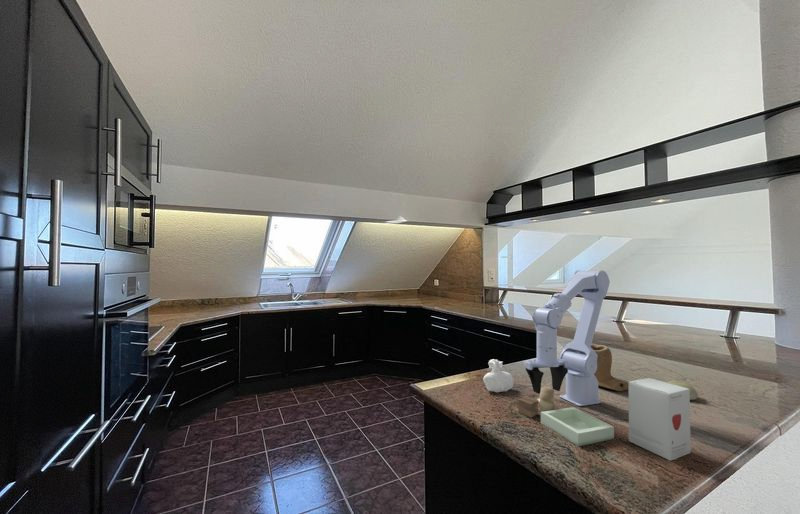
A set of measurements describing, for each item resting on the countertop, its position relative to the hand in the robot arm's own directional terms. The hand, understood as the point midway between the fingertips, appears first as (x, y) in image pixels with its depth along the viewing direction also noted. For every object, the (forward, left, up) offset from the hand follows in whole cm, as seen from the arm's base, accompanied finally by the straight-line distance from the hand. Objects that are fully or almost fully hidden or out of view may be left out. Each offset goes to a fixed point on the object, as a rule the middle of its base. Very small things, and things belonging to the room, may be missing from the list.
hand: (546, 391), depth 95 cm
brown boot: (-36, -10, -6) cm, 38 cm away
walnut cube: (+8, +1, -5) cm, 10 cm away
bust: (+5, -18, -6) cm, 19 cm away
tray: (+3, +13, -5) cm, 14 cm away
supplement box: (-10, +25, -6) cm, 28 cm away
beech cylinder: (0, 0, -5) cm, 5 cm away
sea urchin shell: (-54, +5, -6) cm, 55 cm away
